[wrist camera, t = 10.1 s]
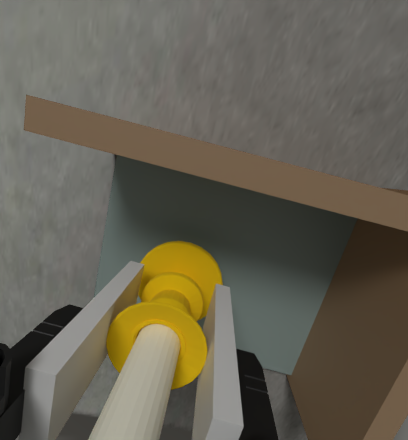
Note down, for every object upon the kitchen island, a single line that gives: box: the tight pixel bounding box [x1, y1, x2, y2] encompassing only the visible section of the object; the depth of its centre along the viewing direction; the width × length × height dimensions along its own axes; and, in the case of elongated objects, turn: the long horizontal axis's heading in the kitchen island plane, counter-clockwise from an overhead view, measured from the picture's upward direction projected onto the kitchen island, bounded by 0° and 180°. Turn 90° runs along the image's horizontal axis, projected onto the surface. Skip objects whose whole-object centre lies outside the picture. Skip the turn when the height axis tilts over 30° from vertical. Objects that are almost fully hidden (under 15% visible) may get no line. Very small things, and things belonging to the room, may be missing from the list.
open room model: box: [24, 95, 408, 440], centre depth 13 cm, size 18×15×7 cm
